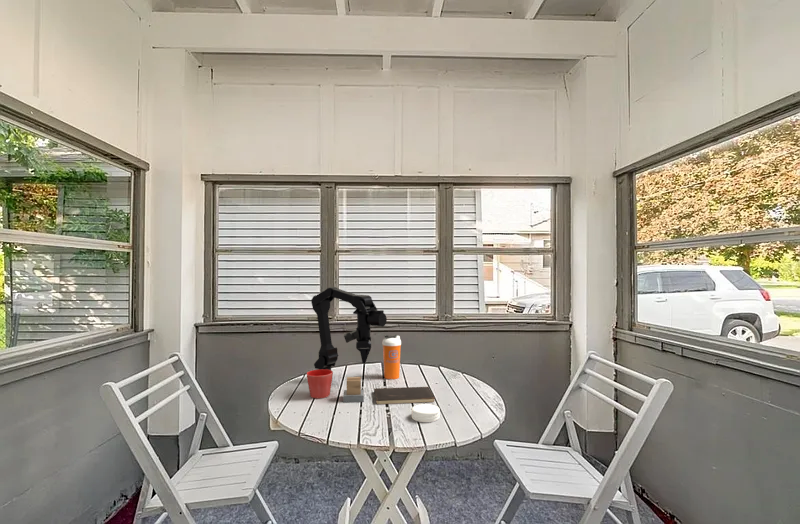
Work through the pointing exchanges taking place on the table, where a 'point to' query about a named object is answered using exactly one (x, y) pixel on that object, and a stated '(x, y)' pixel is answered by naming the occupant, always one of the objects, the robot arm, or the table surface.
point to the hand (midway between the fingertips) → (363, 360)
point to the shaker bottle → (391, 356)
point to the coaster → (425, 413)
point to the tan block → (353, 385)
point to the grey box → (353, 397)
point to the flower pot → (319, 383)
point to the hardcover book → (403, 395)
